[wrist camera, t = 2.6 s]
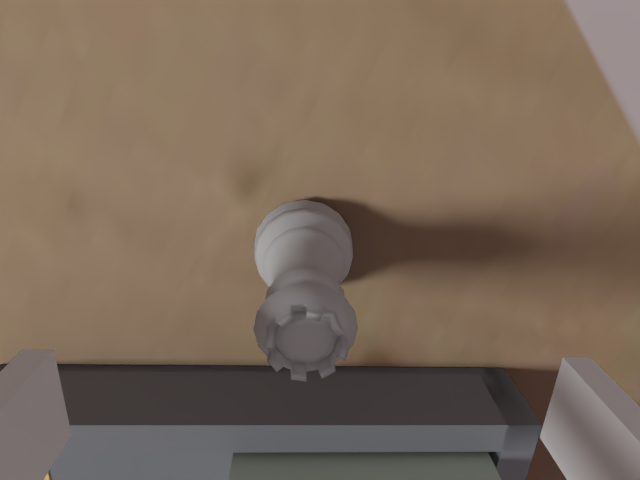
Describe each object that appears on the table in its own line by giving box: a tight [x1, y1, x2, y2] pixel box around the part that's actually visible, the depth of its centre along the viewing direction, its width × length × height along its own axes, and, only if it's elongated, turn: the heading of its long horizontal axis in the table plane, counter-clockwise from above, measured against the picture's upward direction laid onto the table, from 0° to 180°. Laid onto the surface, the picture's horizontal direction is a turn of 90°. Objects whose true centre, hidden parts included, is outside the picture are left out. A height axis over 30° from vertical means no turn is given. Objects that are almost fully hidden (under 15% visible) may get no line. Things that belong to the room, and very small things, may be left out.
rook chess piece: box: [254, 200, 358, 382], centre depth 17 cm, size 4×4×8 cm
